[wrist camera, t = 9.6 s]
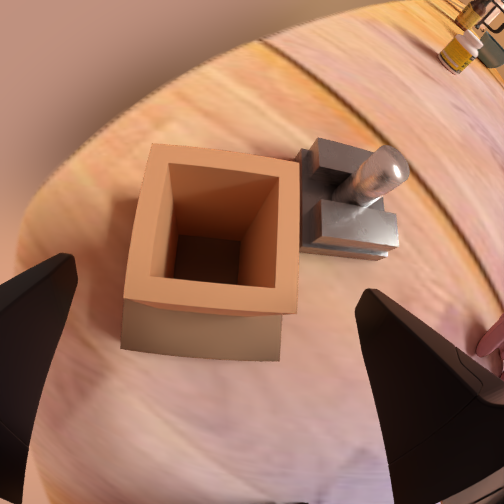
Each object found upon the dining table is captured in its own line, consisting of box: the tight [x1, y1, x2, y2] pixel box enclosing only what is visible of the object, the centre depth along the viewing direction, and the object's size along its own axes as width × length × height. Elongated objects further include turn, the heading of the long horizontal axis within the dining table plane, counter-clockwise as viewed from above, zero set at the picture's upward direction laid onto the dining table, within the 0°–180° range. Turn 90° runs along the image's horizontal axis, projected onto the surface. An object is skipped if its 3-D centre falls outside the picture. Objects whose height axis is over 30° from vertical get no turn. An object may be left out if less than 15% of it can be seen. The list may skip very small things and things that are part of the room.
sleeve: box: [123, 143, 300, 317], centre depth 12 cm, size 5×5×8 cm
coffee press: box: [475, 0, 504, 33], centre depth 51 cm, size 17×16×30 cm
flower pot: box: [477, 31, 504, 68], centre depth 42 cm, size 9×9×9 cm
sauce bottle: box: [455, 0, 492, 31], centre depth 43 cm, size 7×6×20 cm
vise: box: [295, 138, 409, 261], centre depth 18 cm, size 8×7×8 cm
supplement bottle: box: [438, 29, 483, 75], centre depth 31 cm, size 5×5×10 cm
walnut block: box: [120, 235, 282, 361], centre depth 17 cm, size 10×9×2 cm
